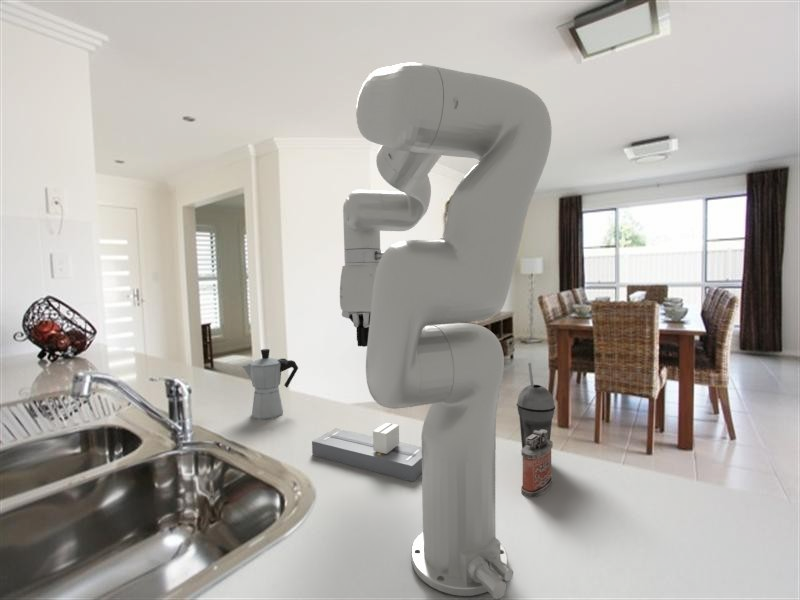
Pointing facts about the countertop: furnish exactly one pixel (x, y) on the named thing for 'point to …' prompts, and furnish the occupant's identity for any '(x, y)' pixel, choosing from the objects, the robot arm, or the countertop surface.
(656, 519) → the countertop surface
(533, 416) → the beverage cup
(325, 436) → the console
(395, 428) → the fader knob
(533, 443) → the lighter
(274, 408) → the coffee maker
